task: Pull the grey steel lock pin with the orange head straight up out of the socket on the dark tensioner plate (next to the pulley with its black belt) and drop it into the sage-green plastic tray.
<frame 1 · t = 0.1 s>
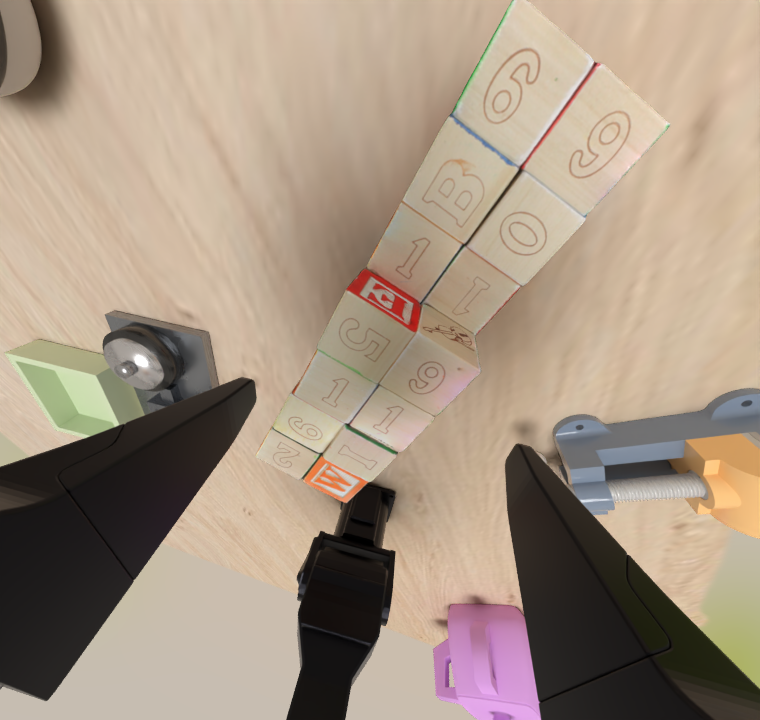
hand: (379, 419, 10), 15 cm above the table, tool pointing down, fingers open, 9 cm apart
vise: (627, 443, 26), on the table
teakettle: (494, 621, 50), on the table
tray: (100, 389, 35), on the table
tensioner: (179, 385, 32), on the table
stack of blocks: (416, 277, 22), on the table
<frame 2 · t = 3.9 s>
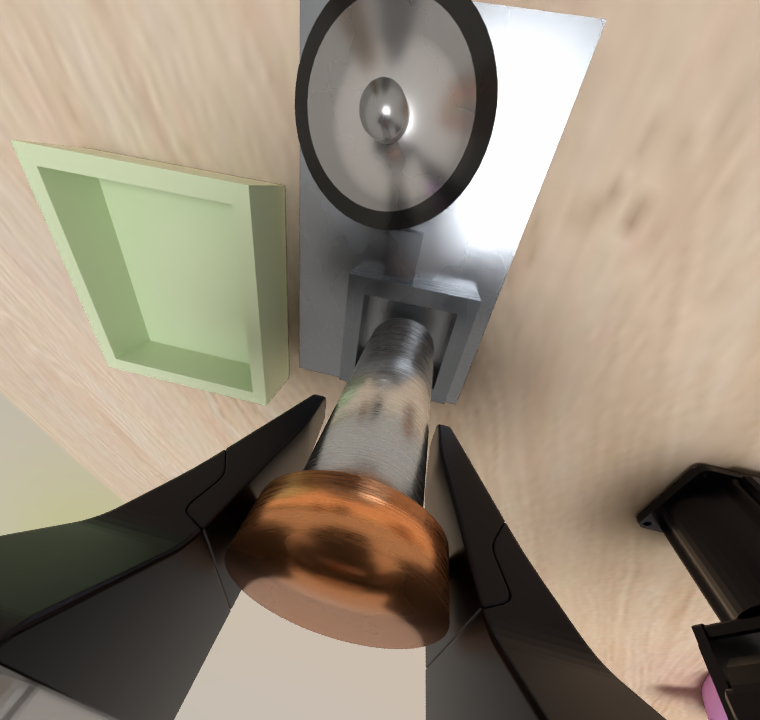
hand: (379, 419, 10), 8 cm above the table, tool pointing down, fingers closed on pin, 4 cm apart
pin: (401, 348, 14), point 3 cm above the table, touching gripper
tray: (204, 280, 17), on the table
tensioner: (402, 249, 14), on the table
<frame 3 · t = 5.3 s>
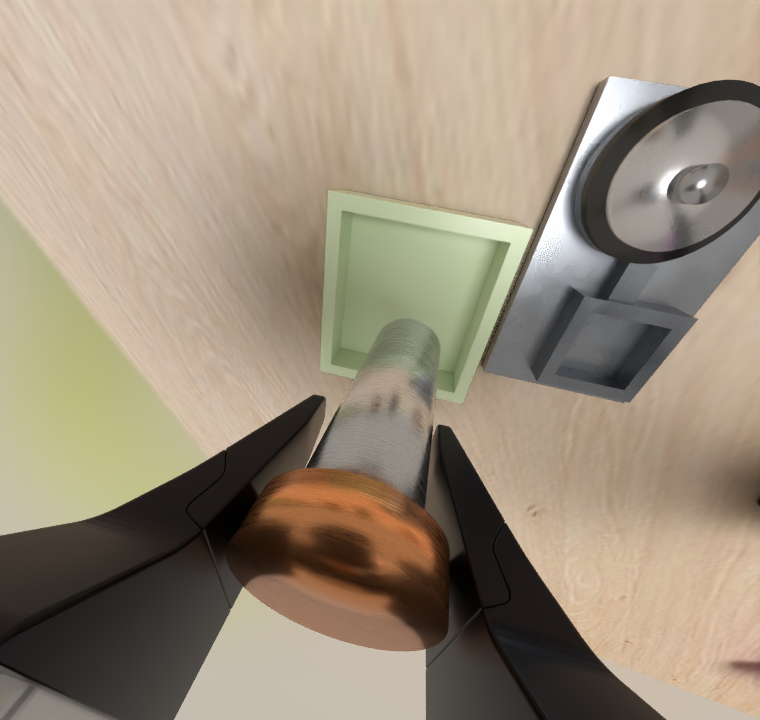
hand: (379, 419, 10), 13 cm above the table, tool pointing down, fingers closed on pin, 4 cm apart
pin: (407, 349, 14), point 7 cm above the table, touching gripper
tray: (409, 297, 20), on the table
tensioner: (609, 274, 17), on the table
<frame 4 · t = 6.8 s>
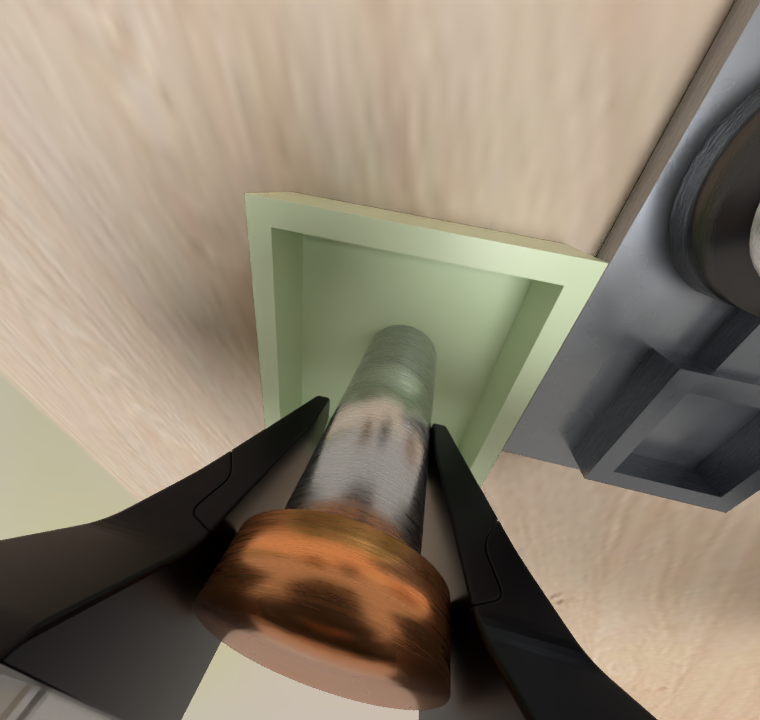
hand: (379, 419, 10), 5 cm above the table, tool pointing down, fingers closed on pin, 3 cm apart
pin: (401, 356, 13), point 1 cm above the table, touching gripper, tray
tray: (395, 348, 14), on the table
tensioner: (706, 324, 11), on the table
when the fingers open (5 cm above the table, at t = 6.9 s): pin stays where it is, resting on tray.
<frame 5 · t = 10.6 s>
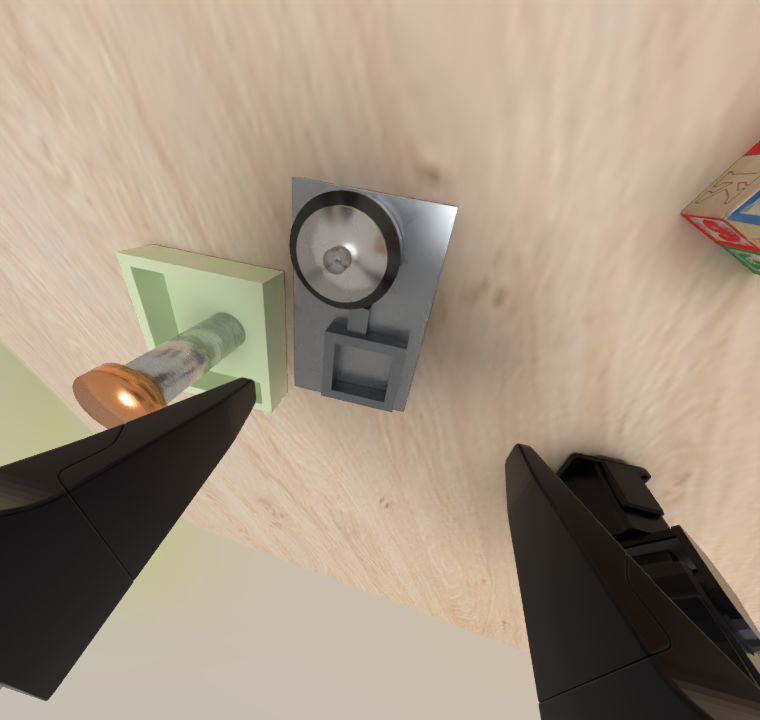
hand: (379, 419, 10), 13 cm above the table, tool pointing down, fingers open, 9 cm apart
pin: (227, 330, 24), point 1 cm above the table, touching tray
tray: (228, 326, 25), on the table
tensioner: (361, 311, 22), on the table
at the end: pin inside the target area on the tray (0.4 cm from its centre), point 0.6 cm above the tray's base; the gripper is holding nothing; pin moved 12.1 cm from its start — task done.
